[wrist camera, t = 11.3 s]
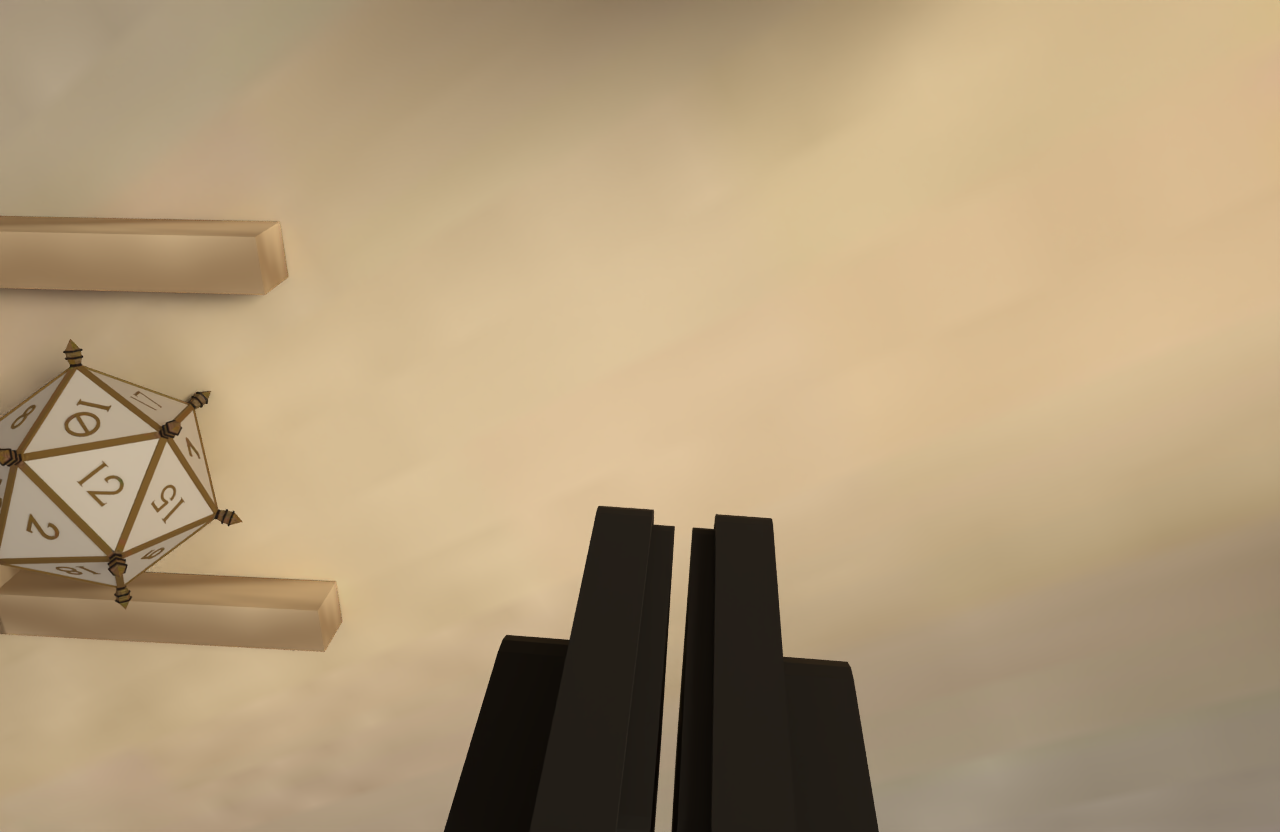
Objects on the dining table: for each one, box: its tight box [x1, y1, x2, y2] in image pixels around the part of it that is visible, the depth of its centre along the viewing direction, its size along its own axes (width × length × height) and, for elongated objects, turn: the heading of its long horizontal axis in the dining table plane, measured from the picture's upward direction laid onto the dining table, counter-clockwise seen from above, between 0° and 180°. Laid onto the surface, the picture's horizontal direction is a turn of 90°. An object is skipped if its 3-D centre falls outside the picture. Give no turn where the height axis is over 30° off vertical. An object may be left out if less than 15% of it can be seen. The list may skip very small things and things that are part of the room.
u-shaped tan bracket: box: [0, 216, 342, 652], centre depth 39 cm, size 17×16×2 cm
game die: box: [0, 339, 242, 610], centre depth 36 cm, size 9×8×10 cm
